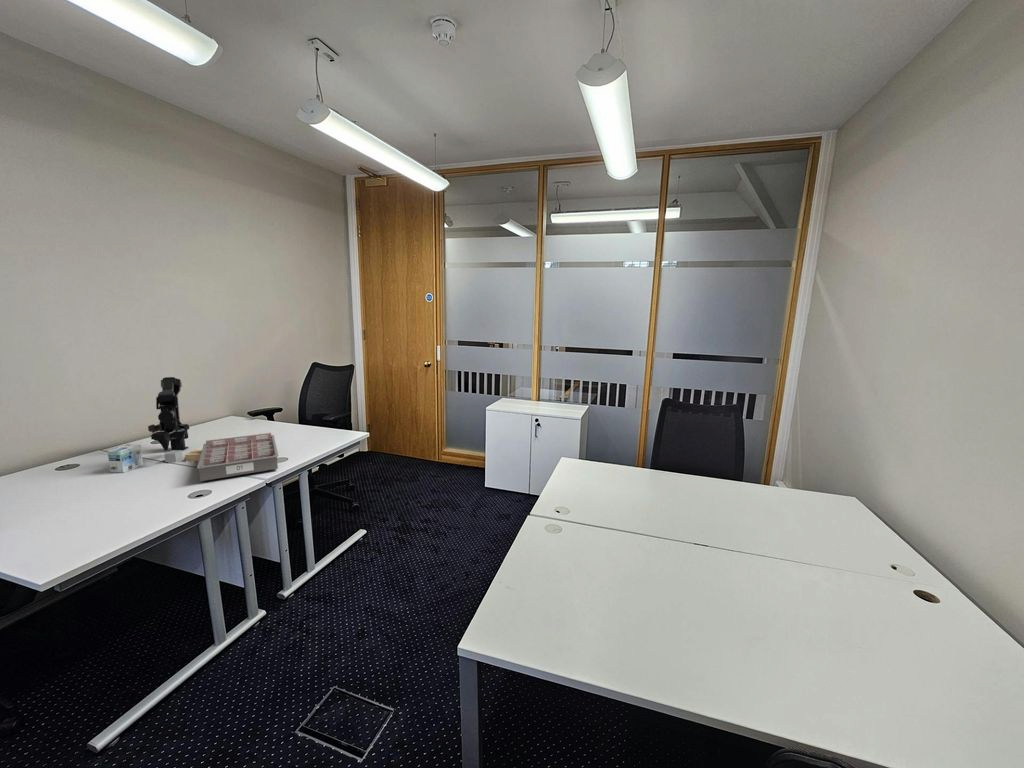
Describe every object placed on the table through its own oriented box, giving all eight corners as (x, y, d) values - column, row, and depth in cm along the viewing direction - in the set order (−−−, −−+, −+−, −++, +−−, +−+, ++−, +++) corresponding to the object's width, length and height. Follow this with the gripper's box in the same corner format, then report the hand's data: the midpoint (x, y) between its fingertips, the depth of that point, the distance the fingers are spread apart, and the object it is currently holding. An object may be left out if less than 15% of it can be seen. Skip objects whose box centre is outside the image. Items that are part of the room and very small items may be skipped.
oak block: (195, 456, 221) (194, 449, 220) (211, 456, 221) (211, 449, 221) (185, 462, 213) (184, 454, 212) (202, 461, 214) (201, 454, 213)
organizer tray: (198, 485, 185) (195, 464, 184) (205, 458, 218) (203, 440, 217) (279, 471, 202) (278, 452, 201) (275, 448, 236) (273, 431, 234)
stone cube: (173, 459, 216) (171, 450, 215) (183, 459, 216) (181, 450, 215) (165, 463, 211) (164, 453, 210) (176, 462, 211) (175, 453, 210)
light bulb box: (123, 473, 197) (120, 451, 195) (109, 472, 197) (106, 451, 195) (143, 464, 207) (141, 444, 206) (130, 464, 208) (127, 444, 206)
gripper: (165, 413, 218) (169, 441, 221) (137, 423, 200) (141, 453, 202) (188, 413, 219) (191, 441, 222) (161, 423, 200) (165, 453, 203)
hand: (172, 447), depth 212 cm, fingers open, 9 cm apart
